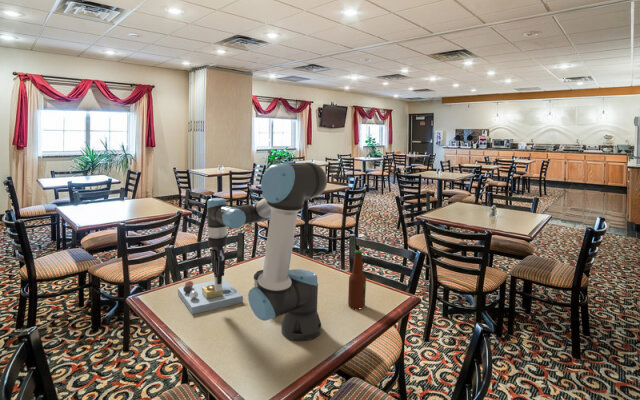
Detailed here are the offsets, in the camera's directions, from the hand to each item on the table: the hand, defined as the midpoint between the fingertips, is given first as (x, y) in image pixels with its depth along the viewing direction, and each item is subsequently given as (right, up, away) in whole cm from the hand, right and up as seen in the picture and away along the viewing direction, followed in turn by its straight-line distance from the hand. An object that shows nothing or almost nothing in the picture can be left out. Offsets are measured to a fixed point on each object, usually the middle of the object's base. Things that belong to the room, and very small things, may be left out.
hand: (218, 290), depth 155 cm
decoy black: (-16, -3, +10) cm, 19 cm away
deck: (-7, -6, +12) cm, 15 cm away
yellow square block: (-5, -4, +8) cm, 10 cm away
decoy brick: (-18, -3, +15) cm, 23 cm away
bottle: (+59, -9, +6) cm, 60 cm away
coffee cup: (+18, -8, +6) cm, 21 cm away
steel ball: (-12, -4, +3) cm, 13 cm away
